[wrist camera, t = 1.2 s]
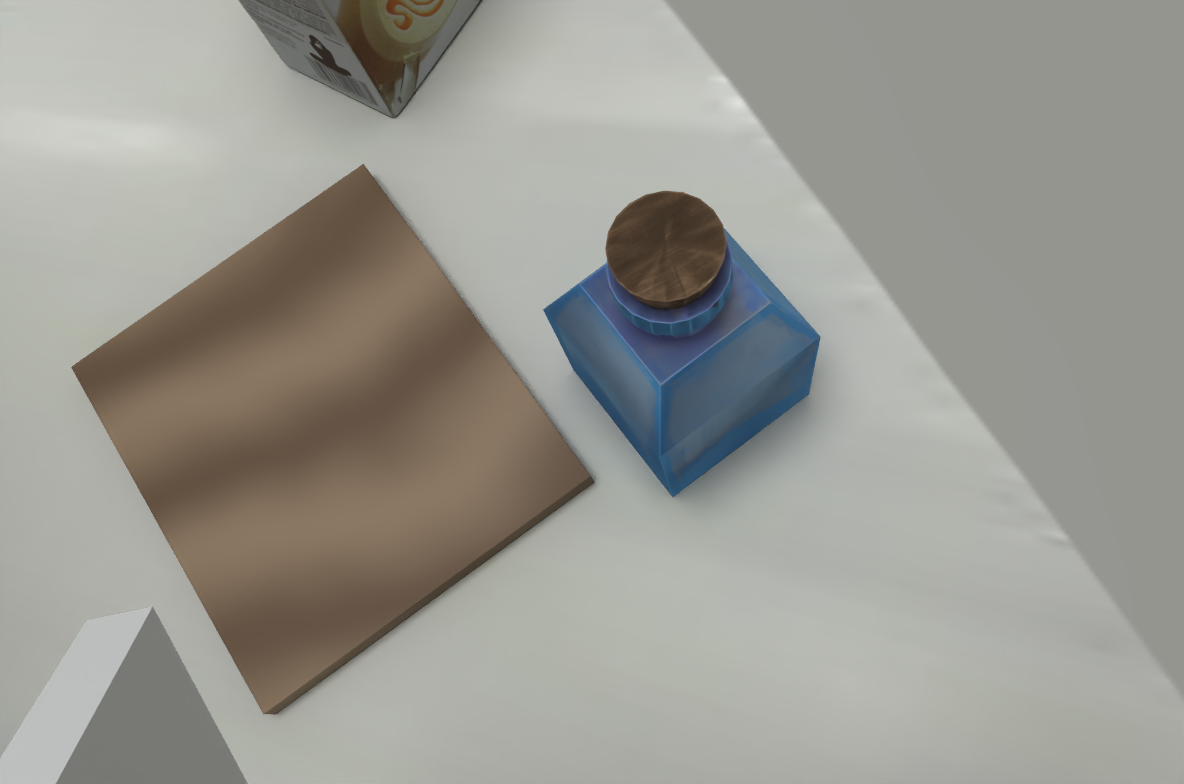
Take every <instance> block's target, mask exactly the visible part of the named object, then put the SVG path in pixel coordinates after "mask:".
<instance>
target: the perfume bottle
mask: <svg viewBox="0 0 1184 784" xmlns="http://www.w3.org/2000/svg"><path fill="white" fill-rule="evenodd" d="M606 255H607V263H606V264H605V265H603V266H602V267H601V268H599V269H598V270H596V271H595V272H594V273H592V274H591V275H590V276H588V277H587V278H586V279H584V280H583V281H582V282H580V283H579V284H577V285H576V286H575V287H573V288H572V289H571V290H569V291H568V292H567V293H565V294H564V295H563V296H561V297H560V298H558V299H557V300H556V301H554V302H553V303H552V304H550V305H549V306H548V307H546V308H545V309H543V310H544V312H545V314H546V316H547V318H548V320H549V322H550V324H551V326H552V328H553V330H554V332H555V334H556V336H557V338H558V340H559V342H560V344H561V346H562V348H563V350H564V352H565V354H566V356H567V358H568V360H569V362H570V364H571V366H572V368H573V369H574V371H575V372H576V373H577V375H578V376H579V377H580V378H581V380H582V381H583V382H584V384H585V385H586V386H587V387H588V389H589V390H590V391H591V393H592V394H593V395H594V396H595V398H596V399H597V400H598V402H599V403H600V404H601V405H602V407H603V408H604V409H605V411H606V412H607V413H608V414H609V416H610V417H611V418H612V420H613V421H614V422H615V423H616V425H617V426H618V427H619V429H620V430H621V431H622V432H623V434H624V435H625V436H626V438H627V439H628V440H629V441H630V443H631V444H632V445H633V447H634V448H635V449H636V450H637V452H638V453H639V454H640V456H641V457H642V458H643V459H644V461H645V462H646V463H647V465H648V466H649V467H650V468H651V470H652V471H653V472H654V474H655V475H656V476H657V478H658V479H659V480H660V481H661V483H662V484H663V485H664V487H665V488H666V489H667V490H668V492H669V493H670V494H671V496H672V497H674V496H675V495H676V494H678V493H679V492H680V491H682V490H683V489H684V488H686V487H687V486H688V485H690V484H691V483H692V482H693V481H695V480H696V479H697V478H699V477H700V476H701V475H703V474H704V473H705V472H707V471H708V470H709V469H711V468H712V467H713V466H715V465H716V464H717V463H719V462H720V461H721V460H723V459H724V458H725V457H727V456H728V455H729V454H730V453H732V452H733V451H734V450H736V449H737V448H738V447H740V446H741V445H742V444H744V443H745V442H746V441H748V440H749V439H750V438H752V437H753V436H754V435H756V434H757V433H758V432H760V431H761V430H762V429H763V428H765V427H766V426H767V425H769V424H770V423H771V422H773V421H774V420H775V419H777V418H778V417H779V416H781V415H782V414H783V413H785V412H786V411H787V410H789V409H790V408H791V407H793V406H794V405H795V404H796V403H798V402H799V401H800V400H802V399H803V398H804V397H806V396H807V395H808V394H809V391H810V386H811V381H812V376H813V371H814V366H815V361H816V356H817V351H818V347H819V342H820V336H819V335H818V333H817V332H816V331H815V330H814V329H813V328H812V327H811V326H810V324H809V323H808V322H807V321H806V320H805V319H804V318H803V317H802V315H801V314H800V313H799V312H798V311H797V310H796V309H795V308H794V306H793V305H792V304H791V303H790V302H789V301H788V300H787V299H786V297H785V296H784V295H783V294H782V293H781V292H780V291H779V290H778V288H777V287H776V286H775V285H774V284H773V283H772V282H771V281H770V279H769V278H768V277H767V276H766V275H765V274H764V273H763V272H762V270H761V269H760V268H759V267H758V266H757V265H756V264H755V263H754V261H753V260H752V259H751V258H750V257H749V256H748V255H747V253H746V252H745V251H744V250H743V249H742V248H741V247H740V246H739V244H738V243H737V242H736V241H735V240H734V239H733V238H732V237H731V235H730V234H729V233H728V232H727V231H726V230H725V229H724V228H723V224H722V223H721V221H720V220H719V218H718V216H717V215H716V213H715V212H714V210H713V209H712V208H710V207H709V206H708V205H707V204H705V203H704V202H703V201H702V200H701V199H699V198H697V197H694V196H691V195H689V194H686V193H683V192H673V191H661V192H656V193H652V194H647V195H644V196H643V197H641V198H639V199H637V200H635V201H633V202H631V203H629V204H628V205H627V206H626V207H625V208H624V209H623V210H622V211H621V212H620V213H619V214H618V215H617V216H616V218H615V220H614V222H613V224H612V226H611V228H610V230H609V231H608V236H607V243H606Z"/></svg>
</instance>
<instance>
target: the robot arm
mask: <svg viewBox="0 0 1184 784" xmlns="http://www.w3.org/2000/svg"><path fill="white" fill-rule="evenodd" d="M0 784H248V783H247V782H246V780H245V778H244V776H243V774H242V772H241V770H240V768H239V767H238V765H237V763H236V761H235V759H234V757H233V755H232V754H231V752H230V750H229V748H228V746H227V744H226V742H225V740H224V739H223V737H222V735H221V733H220V731H219V729H218V727H217V726H216V724H215V722H214V720H213V718H212V716H211V714H210V712H209V711H208V709H207V707H206V705H205V703H204V701H203V699H202V698H201V696H200V694H199V692H198V690H197V688H196V686H195V684H194V683H193V681H192V679H191V677H190V675H189V673H188V671H187V670H186V668H185V666H184V664H183V662H182V660H181V658H180V656H179V655H178V653H177V651H176V649H175V647H174V645H173V643H172V642H171V640H170V638H169V636H168V634H167V632H166V630H165V628H164V627H163V625H162V623H161V621H160V619H159V617H158V615H157V614H156V612H155V610H154V608H153V606H152V607H148V608H143V609H138V610H133V611H128V612H124V613H119V614H114V615H109V616H105V617H100V618H95V619H90V620H86V622H85V623H84V625H83V627H82V628H81V630H80V631H79V633H78V635H77V636H76V638H75V639H74V641H73V643H72V644H71V646H70V647H69V649H68V651H67V652H66V654H65V655H64V657H63V659H62V660H61V662H60V663H59V665H58V667H57V668H56V670H55V671H54V673H53V675H52V676H51V678H50V679H49V681H48V683H47V684H46V686H45V687H44V689H43V691H42V692H41V694H40V695H39V697H38V699H37V700H36V702H35V703H34V705H33V707H32V708H31V710H30V711H29V713H28V715H27V716H26V718H25V719H24V721H23V723H22V724H21V726H20V727H19V729H18V731H17V732H16V734H15V735H14V737H13V739H12V740H11V742H10V743H9V745H8V747H7V748H6V750H5V751H4V753H3V755H2V756H1V758H0Z"/></svg>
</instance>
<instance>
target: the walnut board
mask: <svg viewBox="0 0 1184 784" xmlns="http://www.w3.org/2000/svg"><path fill="white" fill-rule="evenodd" d="M71 368H72V369H73V371H74V373H75V375H76V377H77V378H78V380H79V382H80V384H81V386H82V387H83V389H84V391H85V393H86V395H87V396H88V398H89V400H90V402H91V404H92V405H93V407H94V409H95V411H96V413H97V415H98V416H99V418H100V420H101V422H102V424H103V425H104V427H105V429H106V431H107V433H108V434H109V436H110V438H111V440H112V442H113V443H114V445H115V447H116V449H117V451H118V452H119V454H120V456H121V458H122V460H123V461H124V463H125V465H126V467H127V469H128V470H129V472H130V474H131V476H132V478H133V480H134V481H135V483H136V485H137V487H138V489H139V490H140V492H141V494H142V496H143V498H144V499H145V501H146V503H147V505H148V507H149V508H150V510H151V512H152V514H153V516H154V517H155V519H156V521H157V523H158V525H159V526H160V528H161V530H162V532H163V534H164V536H165V537H166V539H167V541H168V543H169V545H170V546H171V548H172V550H173V552H174V554H175V555H176V557H177V559H178V561H179V563H180V564H181V566H182V568H183V570H184V572H185V573H186V575H187V577H188V579H189V581H190V582H191V584H192V586H193V588H194V590H195V591H196V593H197V595H198V597H199V599H200V601H201V602H202V604H203V606H204V608H205V610H206V611H207V613H208V615H209V617H210V619H211V620H212V622H213V624H214V626H215V628H216V629H217V631H218V633H219V635H220V637H221V638H222V640H223V642H224V644H225V646H226V647H227V649H228V651H229V653H230V655H231V656H232V658H233V660H234V662H235V664H236V666H237V667H238V669H239V671H240V673H241V675H242V676H243V678H244V680H245V682H246V684H247V685H248V687H249V689H250V691H251V693H252V694H253V696H254V698H255V700H256V702H257V703H258V705H259V707H260V709H261V711H262V712H263V714H276V713H278V712H279V711H281V710H282V709H283V708H285V707H286V706H287V705H289V704H290V703H292V702H293V701H294V700H296V699H297V698H298V697H300V696H301V695H303V694H304V693H305V692H307V691H308V690H309V689H311V688H312V687H314V686H315V685H316V684H318V683H319V682H320V681H322V680H323V679H325V678H326V677H327V676H329V675H330V674H331V673H333V672H334V671H336V670H337V669H338V668H340V667H341V666H342V665H344V664H345V663H346V662H348V661H349V660H351V659H352V658H353V657H355V656H356V655H357V654H359V653H360V652H362V651H363V650H364V649H366V648H367V647H368V646H370V645H371V644H373V643H374V642H375V641H377V640H378V639H379V638H381V637H382V636H384V635H385V634H386V633H388V632H389V631H390V630H392V629H393V628H395V627H396V626H397V625H399V624H400V623H401V622H403V621H404V620H406V619H407V618H408V617H410V616H411V615H412V614H414V613H415V612H417V611H418V610H419V609H421V608H422V607H423V606H425V605H426V604H428V603H429V602H430V601H432V600H433V599H434V598H436V597H437V596H438V595H440V594H441V593H443V592H444V591H445V590H447V589H448V588H449V587H451V586H452V585H454V584H455V583H456V582H458V581H459V580H460V579H462V578H463V577H465V576H466V575H467V574H469V573H470V572H471V571H473V570H474V569H476V568H477V567H478V566H480V565H481V564H482V563H484V562H485V561H487V560H488V559H489V558H491V557H492V556H493V555H495V554H496V553H498V552H499V551H500V550H502V549H503V548H504V547H506V546H507V545H509V544H510V543H511V542H513V541H514V540H515V539H517V538H518V537H519V536H521V535H522V534H524V533H525V532H526V531H528V530H529V529H530V528H532V527H533V526H535V525H536V524H537V523H539V522H540V521H541V520H543V519H544V518H546V517H547V516H548V515H550V514H551V513H552V512H554V511H555V510H557V509H558V508H559V507H561V506H562V505H563V504H565V503H566V502H568V501H569V500H570V499H572V498H573V497H574V496H576V495H577V494H579V493H580V492H581V491H583V490H584V489H585V488H587V487H588V486H590V485H591V484H592V483H594V481H593V479H592V478H591V476H590V475H589V473H588V472H587V471H586V469H585V468H584V466H583V465H582V464H581V462H580V461H579V460H578V458H577V457H576V455H575V454H574V453H573V451H572V450H571V449H570V447H569V446H568V444H567V443H566V442H565V440H564V439H563V438H562V436H561V435H560V433H559V432H558V431H557V429H556V428H555V427H554V425H553V424H552V422H551V421H550V420H549V418H548V417H547V416H546V414H545V413H544V411H543V410H542V409H541V407H540V406H539V405H538V403H537V402H536V400H535V399H534V398H533V396H532V395H531V394H530V392H529V391H528V389H527V388H526V387H525V385H524V384H523V383H522V381H521V380H520V378H519V377H518V376H517V374H516V373H515V372H514V370H513V369H512V367H511V366H510V365H509V363H508V362H507V361H506V359H505V358H504V356H503V355H502V354H501V352H500V351H499V350H498V348H497V347H496V346H495V344H494V343H493V341H492V340H491V339H490V337H489V336H488V335H487V333H486V332H485V330H484V329H483V328H482V326H481V325H480V324H479V322H478V321H477V319H476V318H475V317H474V315H473V314H472V313H471V311H470V310H469V308H468V307H467V306H466V304H465V303H464V302H463V300H462V299H461V297H460V296H459V295H458V293H457V292H456V291H455V289H454V288H453V286H452V285H451V284H450V282H449V281H448V280H447V278H446V277H445V275H444V274H443V273H442V271H441V270H440V269H439V267H438V266H437V264H436V263H435V262H434V260H433V259H432V258H431V256H430V255H429V253H428V252H427V251H426V249H425V248H424V247H423V245H422V244H421V242H420V241H419V240H418V238H417V237H416V236H415V234H414V233H413V231H412V230H411V229H410V227H409V226H408V225H407V223H406V222H405V220H404V219H403V218H402V216H401V215H400V214H399V212H398V211H397V209H396V208H395V207H394V205H393V204H392V203H391V201H390V200H389V198H388V197H387V196H386V194H385V193H384V192H383V190H382V189H381V187H380V186H379V185H378V183H377V182H376V181H375V179H374V178H373V176H372V175H371V174H370V172H369V171H368V170H367V168H366V167H365V166H364V164H363V165H361V166H360V167H358V168H357V169H356V170H354V171H353V172H351V173H350V174H348V175H347V176H345V177H344V178H343V179H341V180H340V181H338V182H337V183H335V184H334V185H332V186H331V187H330V188H328V189H327V190H325V191H324V192H322V193H321V194H320V195H318V196H317V197H315V198H314V199H312V200H311V201H309V202H308V203H307V204H305V205H304V206H302V207H301V208H299V209H298V210H297V211H295V212H294V213H292V214H291V215H289V216H288V217H286V218H285V219H284V220H282V221H281V222H279V223H278V224H276V225H275V226H273V227H272V228H271V229H269V230H268V231H266V232H265V233H263V234H262V235H261V236H259V237H258V238H256V239H255V240H253V241H252V242H250V243H249V244H248V245H246V246H245V247H243V248H242V249H240V250H239V251H237V252H236V253H235V254H233V255H232V256H230V257H229V258H227V259H226V260H225V261H223V262H222V263H220V264H219V265H217V266H216V267H214V268H213V269H212V270H210V271H209V272H207V273H206V274H204V275H203V276H201V277H200V278H199V279H197V280H196V281H194V282H193V283H191V284H190V285H189V286H187V287H186V288H184V289H183V290H181V291H180V292H178V293H177V294H176V295H174V296H173V297H171V298H170V299H168V300H167V301H166V302H164V303H163V304H161V305H160V306H158V307H157V308H155V309H154V310H153V311H151V312H150V313H148V314H147V315H145V316H144V317H142V318H141V319H140V320H138V321H137V322H135V323H134V324H132V325H131V326H130V327H128V328H127V329H125V330H124V331H122V332H121V333H119V334H118V335H117V336H115V337H114V338H112V339H111V340H109V341H108V342H106V343H105V344H104V345H102V346H101V347H99V348H98V349H96V350H95V351H94V352H92V353H91V354H89V355H88V356H86V357H85V358H83V359H82V360H81V361H79V362H78V363H76V364H75V365H73V366H72V367H71Z"/></svg>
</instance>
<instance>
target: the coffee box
mask: <svg viewBox="0 0 1184 784" xmlns="http://www.w3.org/2000/svg"><path fill="white" fill-rule="evenodd" d="M479 1H480V0H239V2H240V3H241V4H242V6H243V7H244V9H245V10H246V11H247V13H248V14H249V15H250V17H251V18H252V19H253V20H254V21H255V23H256V24H257V26H258V27H259V29H260V30H261V32H262V33H263V34H264V35H265V37H266V38H267V40H268V41H269V43H270V44H271V46H272V47H273V48H274V50H275V51H276V52H277V54H278V55H279V57H280V58H281V59H282V61H283V62H284V63H285V64H287V65H288V66H289V67H291V68H293V69H295V70H297V71H299V72H301V73H303V74H305V75H307V76H309V77H311V78H313V79H315V80H317V81H319V82H321V83H323V84H325V85H328V86H330V87H332V88H334V89H336V90H338V91H340V92H341V93H343V94H345V95H347V96H349V97H351V98H353V99H355V100H357V101H359V102H361V103H364V104H366V105H368V106H370V107H372V108H374V109H376V110H378V111H380V112H382V113H384V114H386V115H388V116H390V117H396V116H397V115H398V114H399V113H400V112H401V110H402V109H403V108H404V106H405V105H406V103H407V102H408V101H409V99H410V98H411V96H412V95H413V94H414V92H415V91H416V89H417V88H418V87H419V85H420V84H421V82H422V81H423V80H424V78H425V77H426V75H427V74H428V73H429V71H430V70H431V69H432V67H433V66H434V64H435V63H436V62H437V60H438V59H439V57H440V56H441V54H442V53H443V52H444V50H445V49H446V48H447V46H448V45H449V43H450V42H451V41H452V39H453V38H454V36H455V35H456V34H457V32H458V31H459V29H460V28H461V27H462V25H463V24H464V23H465V21H466V20H467V18H468V17H469V15H470V14H471V13H472V11H473V10H474V8H475V7H476V6H477V4H478V3H479Z"/></svg>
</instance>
